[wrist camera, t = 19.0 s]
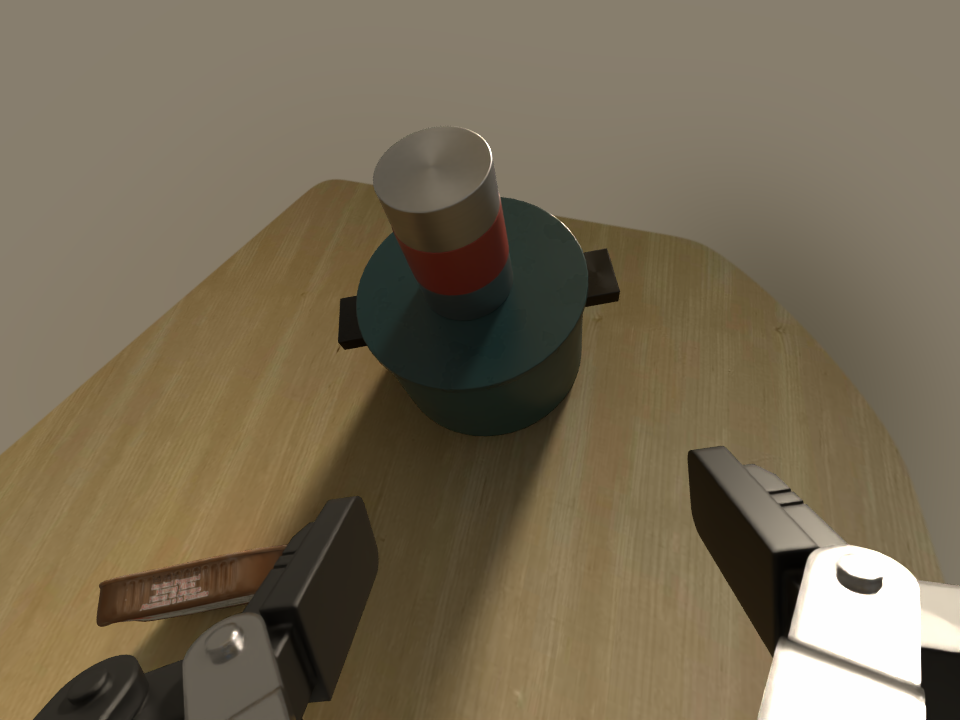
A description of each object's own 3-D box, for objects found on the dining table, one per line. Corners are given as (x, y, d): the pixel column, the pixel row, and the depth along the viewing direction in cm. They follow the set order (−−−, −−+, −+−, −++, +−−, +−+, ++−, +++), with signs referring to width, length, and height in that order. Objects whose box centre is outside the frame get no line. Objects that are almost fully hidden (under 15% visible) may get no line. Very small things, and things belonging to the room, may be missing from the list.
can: (507, 239, 35) (486, 114, 26) (519, 312, 31) (500, 198, 23) (421, 255, 35) (372, 139, 27) (425, 329, 32) (370, 224, 23)
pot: (586, 256, 45) (589, 172, 36) (629, 419, 37) (647, 360, 28) (378, 295, 47) (335, 224, 38) (377, 457, 39) (322, 413, 30)
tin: (348, 545, 36) (291, 529, 29) (349, 591, 35) (290, 585, 27) (166, 583, 37) (66, 577, 30) (159, 629, 36) (53, 634, 28)
